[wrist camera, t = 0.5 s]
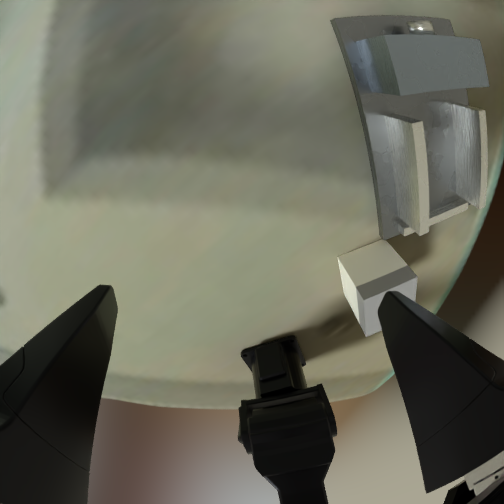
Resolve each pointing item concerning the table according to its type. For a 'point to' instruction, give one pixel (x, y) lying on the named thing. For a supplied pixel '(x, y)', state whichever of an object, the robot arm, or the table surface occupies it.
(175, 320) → the table surface
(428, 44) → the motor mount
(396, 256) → the grey rectangular block
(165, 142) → the table surface
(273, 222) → the table surface
